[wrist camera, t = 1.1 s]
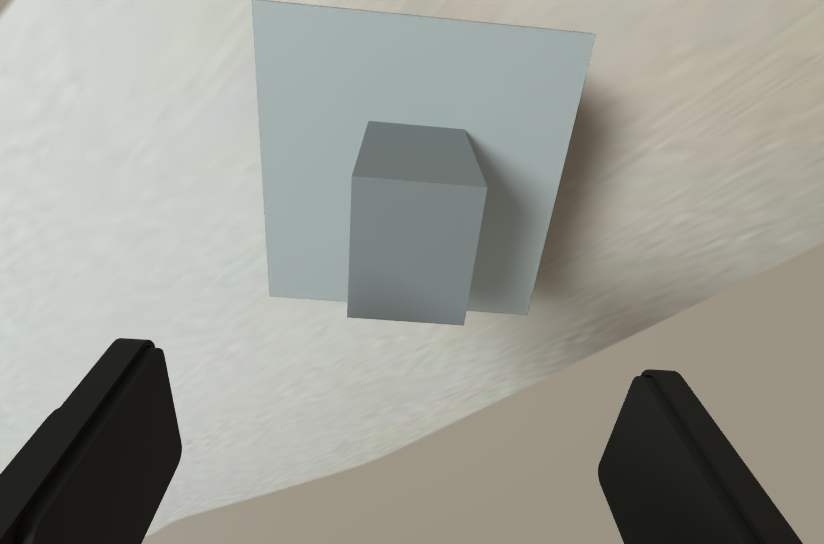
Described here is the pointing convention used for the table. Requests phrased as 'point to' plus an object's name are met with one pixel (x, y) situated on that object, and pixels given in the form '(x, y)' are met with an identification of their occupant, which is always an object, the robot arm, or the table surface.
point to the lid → (410, 157)
